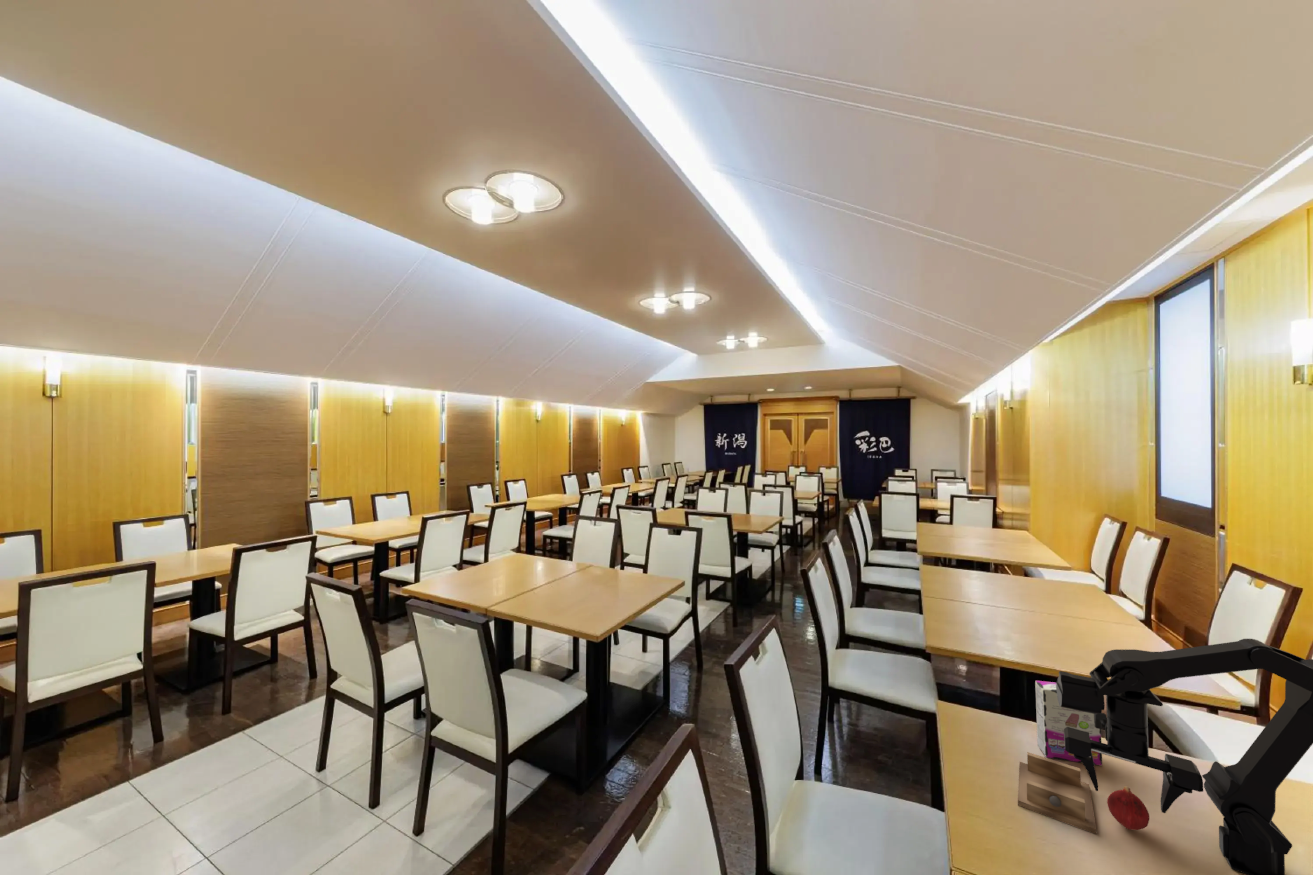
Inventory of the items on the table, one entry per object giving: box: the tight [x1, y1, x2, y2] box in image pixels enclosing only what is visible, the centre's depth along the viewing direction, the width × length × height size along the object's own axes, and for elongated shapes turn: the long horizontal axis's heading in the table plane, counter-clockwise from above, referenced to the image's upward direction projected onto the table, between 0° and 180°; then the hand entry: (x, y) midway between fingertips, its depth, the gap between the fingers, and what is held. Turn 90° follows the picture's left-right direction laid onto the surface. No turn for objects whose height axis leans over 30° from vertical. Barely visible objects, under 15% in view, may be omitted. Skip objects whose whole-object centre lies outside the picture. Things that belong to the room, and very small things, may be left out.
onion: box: [1106, 785, 1150, 831], centre depth 92 cm, size 6×6×8 cm
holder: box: [1017, 751, 1097, 835], centre depth 101 cm, size 12×15×4 cm
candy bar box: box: [1034, 680, 1103, 766], centre depth 114 cm, size 11×5×16 cm, turn 73°
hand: (1128, 800), depth 92 cm, fingers open, 9 cm apart
